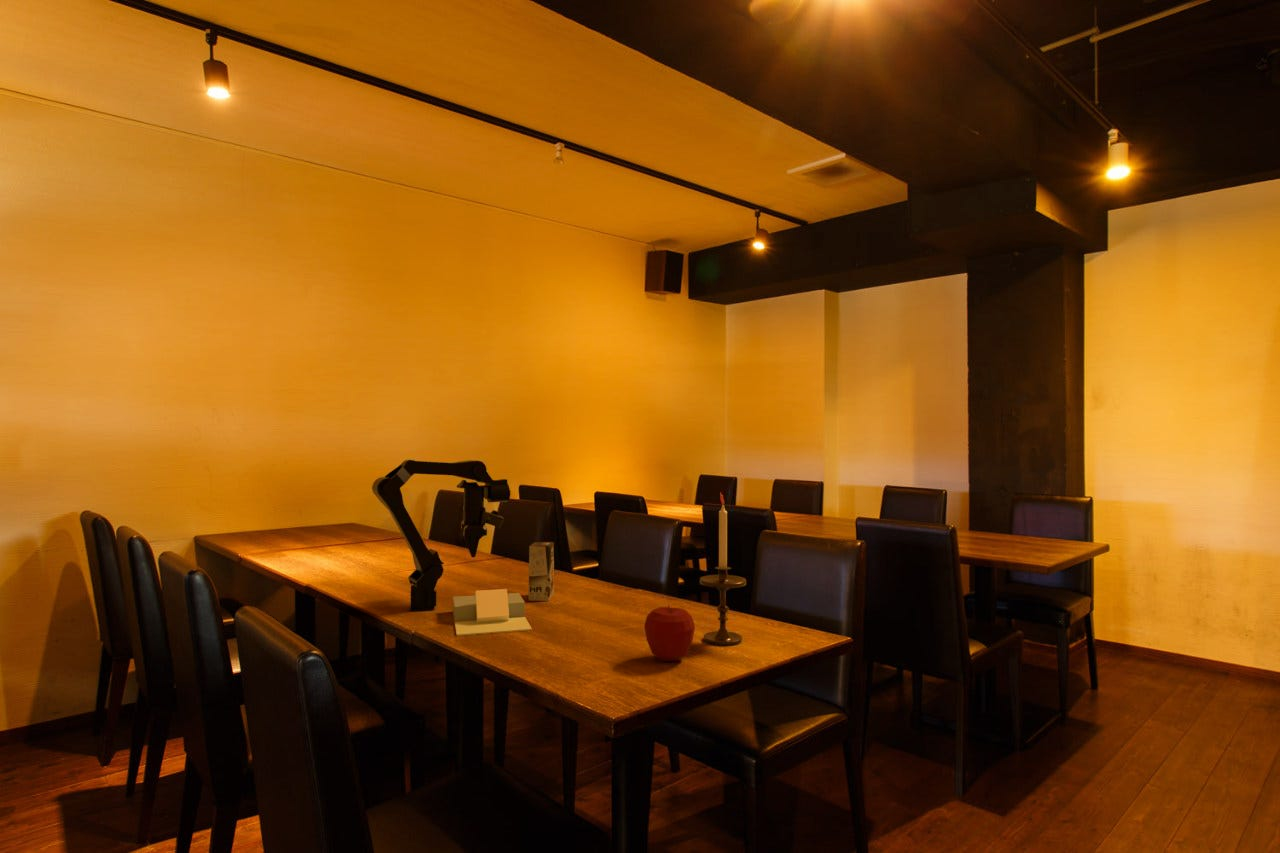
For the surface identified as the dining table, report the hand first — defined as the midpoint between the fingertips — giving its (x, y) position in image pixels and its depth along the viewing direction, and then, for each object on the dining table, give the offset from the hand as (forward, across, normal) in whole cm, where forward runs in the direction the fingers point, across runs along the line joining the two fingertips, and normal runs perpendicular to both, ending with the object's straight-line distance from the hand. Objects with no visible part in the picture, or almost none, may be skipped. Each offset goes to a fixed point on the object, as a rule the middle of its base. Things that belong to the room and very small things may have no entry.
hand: (473, 557), depth 201 cm
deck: (+13, -16, -3) cm, 21 cm away
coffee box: (+13, 0, -20) cm, 24 cm away
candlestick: (+13, -56, -54) cm, 79 cm away
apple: (+13, -66, -37) cm, 77 cm away
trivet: (+10, -23, -3) cm, 25 cm away
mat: (+13, -29, -3) cm, 32 cm away
